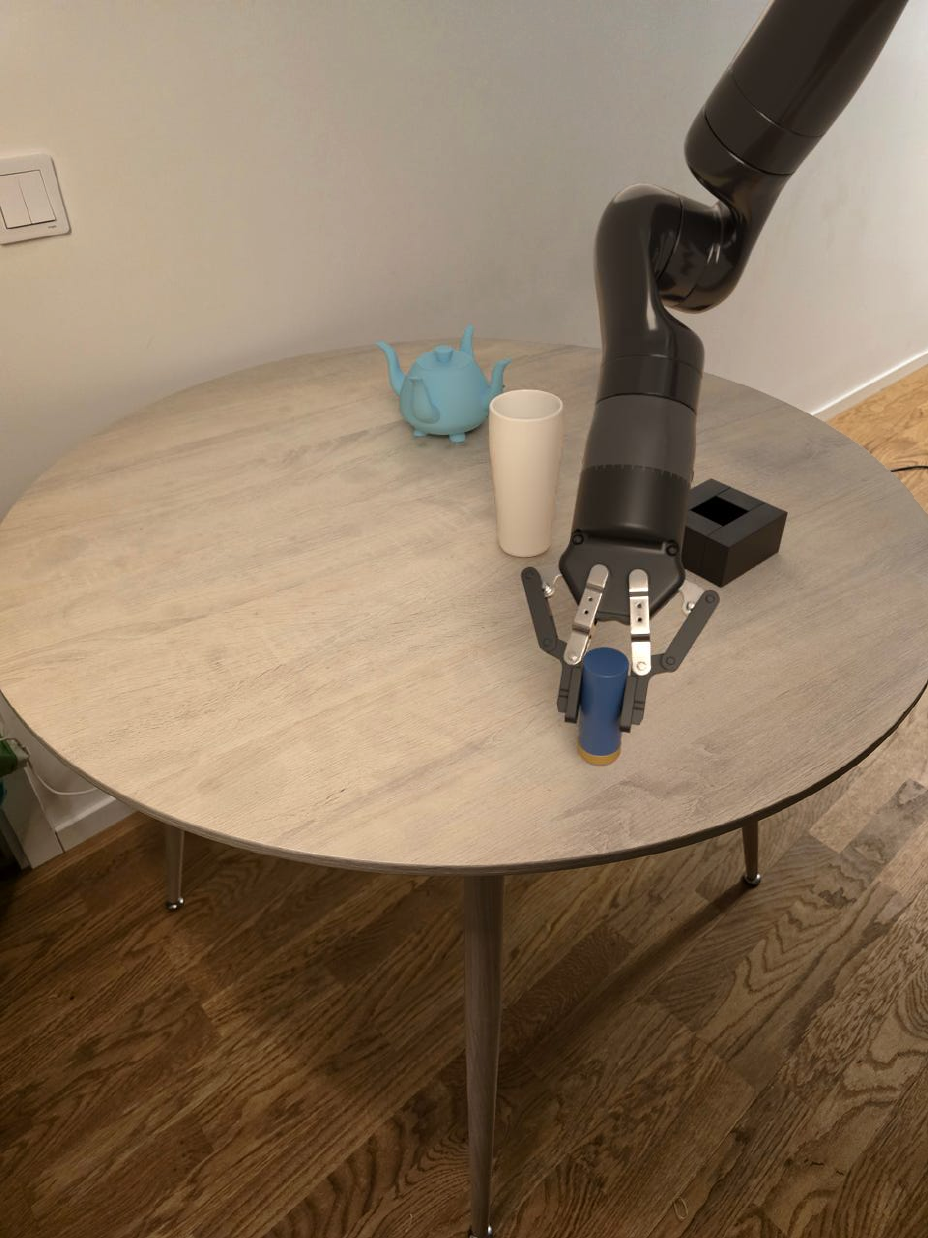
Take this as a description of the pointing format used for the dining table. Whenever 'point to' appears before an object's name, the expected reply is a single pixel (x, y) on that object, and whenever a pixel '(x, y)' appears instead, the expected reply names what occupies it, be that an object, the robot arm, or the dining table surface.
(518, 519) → the drinking glass
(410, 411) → the teapot
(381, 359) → the dining table surface
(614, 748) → the handle
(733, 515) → the holder
